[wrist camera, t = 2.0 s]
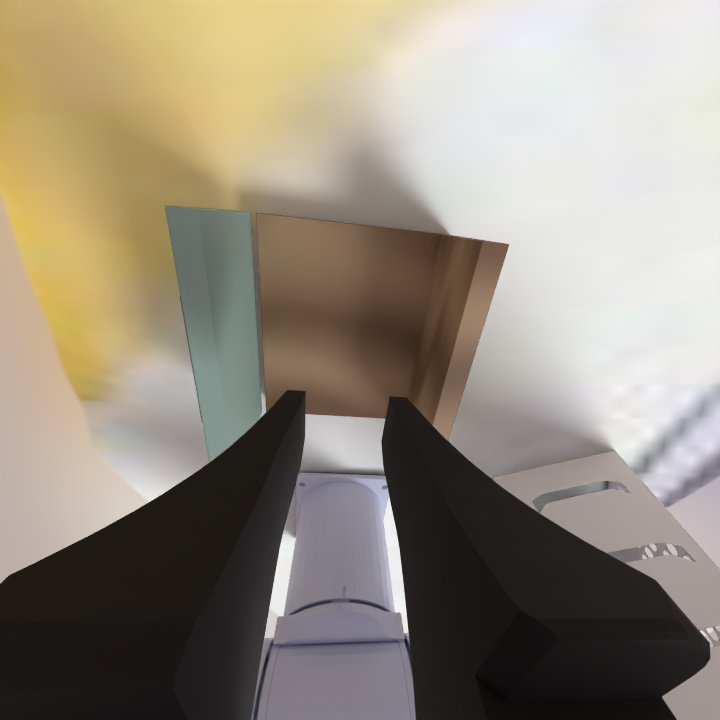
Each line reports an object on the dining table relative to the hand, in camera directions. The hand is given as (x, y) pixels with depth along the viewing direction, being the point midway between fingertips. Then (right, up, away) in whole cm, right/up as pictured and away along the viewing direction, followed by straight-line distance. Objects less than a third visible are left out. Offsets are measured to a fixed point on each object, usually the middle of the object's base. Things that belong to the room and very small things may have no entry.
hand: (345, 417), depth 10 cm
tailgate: (-6, +4, +7) cm, 9 cm away
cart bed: (0, +4, +8) cm, 9 cm away
